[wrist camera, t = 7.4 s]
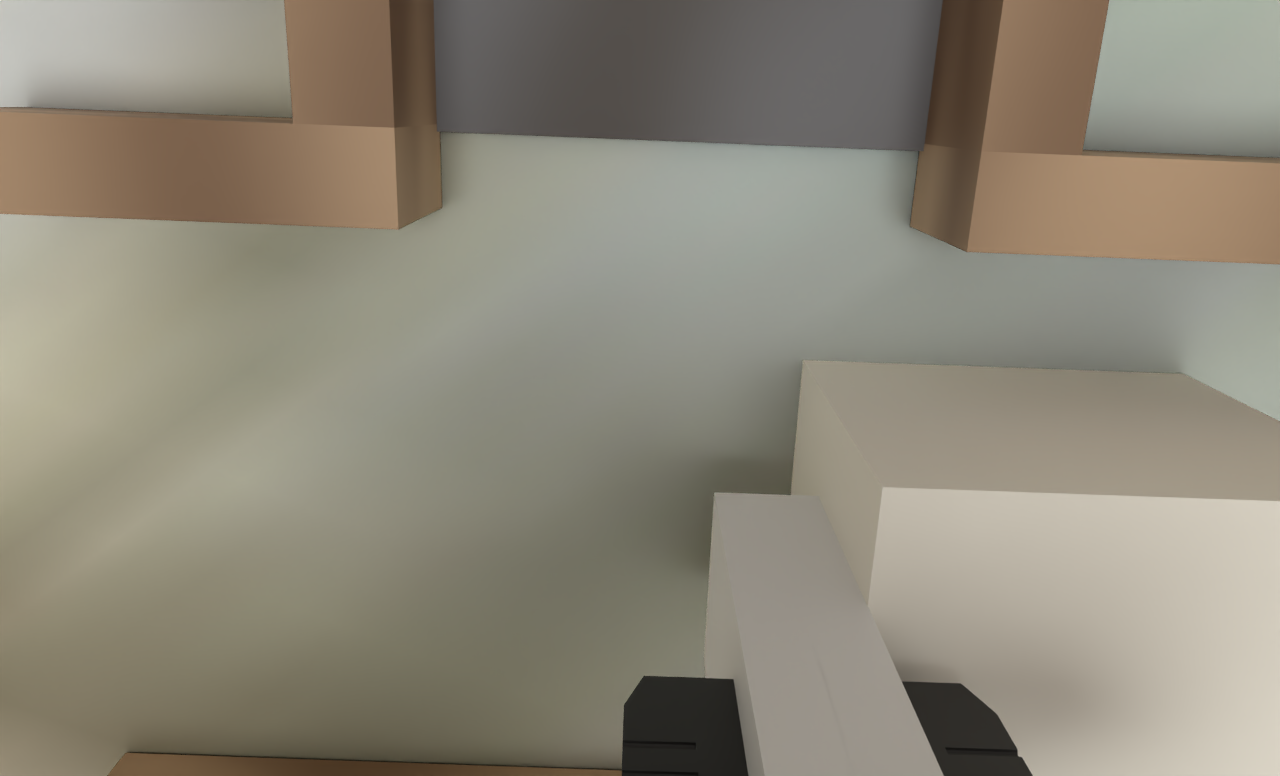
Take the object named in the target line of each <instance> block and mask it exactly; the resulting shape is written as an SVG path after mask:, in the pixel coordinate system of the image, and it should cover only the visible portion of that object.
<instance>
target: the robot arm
mask: <svg viewBox="0 0 1280 776" xmlns="http://www.w3.org/2000/svg"><path fill="white" fill-rule="evenodd" d="M704 668H705V678H688V677H658V676H644V677H643V678H642V680H641V681H640V683H639V684H638V685H637V687H636V688H635V690H634V691H633V693H632V694H631V696H630V697H629V699H628V700H627V702H626V703H625V705H624V724H623V752H622V776H1033V775H1032V774H1031V772H1030V770H1029V768H1028V767H1027V765H1026V763H1025V761H1024V760H1023V758H1022V757H1019V756H1018V749H1017V748H1016V746H1015V744H1014V742H1013V741H1012V739H1011V737H1010V736H1009V734H1008V732H1007V730H1006V729H1005V727H1004V725H1003V723H1002V722H1001V720H1000V718H999V717H998V715H997V714H996V713H995V712H994V711H993V710H992V709H991V708H989V707H988V706H987V705H986V704H985V703H984V702H982V701H981V700H980V699H979V698H978V697H976V696H975V695H974V694H973V693H972V692H971V691H969V690H968V689H967V688H966V687H965V686H964V685H962V684H961V683H936V682H906V681H901V679H900V677H899V674H898V672H897V670H896V668H895V665H894V663H893V661H892V659H891V656H890V654H889V652H888V650H887V647H886V645H885V643H884V641H883V638H882V636H881V634H880V632H879V630H878V627H877V625H876V623H875V621H874V618H873V616H872V614H871V612H870V609H869V607H868V606H867V604H866V602H865V600H864V597H863V595H862V593H861V591H860V588H859V586H858V584H857V582H856V579H855V577H854V575H853V573H852V570H851V568H850V566H849V564H848V561H847V559H846V557H845V555H844V552H843V550H842V548H841V546H840V544H839V541H838V539H837V537H836V535H835V532H834V530H833V528H832V526H831V523H830V521H829V519H828V517H827V514H826V512H825V510H824V508H823V505H822V503H821V501H820V499H819V496H808V495H778V494H749V493H720V492H714V504H713V519H712V535H711V550H710V566H709V582H708V597H707V613H706V628H705V644H704Z"/></svg>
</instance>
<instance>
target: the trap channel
mask: <svg viewBox="0 0 1280 776" xmlns="http://www.w3.org/2000/svg"><path fill="white" fill-rule="evenodd" d="M284 4H285V18H286V32H287V46H288V60H289V74H290V88H291V101H292V115H293V118H279V117H254V116H229V115H204V114H180V113H155V112H130V111H105V110H80V109H56V108H31V107H0V214H22V215H47V216H73V217H98V218H123V219H149V220H174V221H199V222H224V223H250V224H275V225H300V226H325V227H351V228H376V229H400V228H402V227H404V226H406V225H408V224H410V223H412V222H414V221H416V220H418V219H420V218H422V217H424V216H426V215H428V214H430V213H432V212H434V211H436V210H438V209H440V208H442V190H441V151H440V132H461V133H486V134H511V135H536V136H561V137H585V138H610V139H635V140H660V141H685V142H710V143H734V144H759V145H784V146H809V147H834V148H858V149H883V150H908V151H919V159H918V167H917V174H916V182H915V190H914V198H913V206H912V214H911V222H910V227H913V228H915V229H917V230H919V231H921V232H924V233H926V234H928V235H930V236H933V237H935V238H937V239H939V240H941V241H944V242H946V243H948V244H950V245H953V246H955V247H957V248H959V249H962V250H964V251H966V252H983V253H1008V254H1033V255H1059V256H1084V257H1109V258H1134V259H1160V260H1185V261H1210V262H1235V263H1261V264H1280V158H1269V157H1245V156H1220V155H1195V154H1170V153H1146V152H1121V151H1096V150H1083V145H1084V139H1085V133H1086V128H1087V122H1088V117H1089V111H1090V105H1091V100H1092V94H1093V89H1094V83H1095V77H1096V72H1097V66H1098V60H1099V55H1100V49H1101V44H1102V38H1103V32H1104V27H1105V21H1106V16H1107V10H1108V4H1109V0H284ZM107 776H622V771H621V770H593V769H565V768H537V767H508V766H480V765H452V764H424V763H396V762H368V761H339V760H311V759H283V758H255V757H227V756H199V755H170V754H142V753H125V754H124V756H123V757H122V758H121V759H120V761H119V762H118V763H117V764H116V765H115V767H114V768H113V769H112V770H111V772H110V773H109V774H108V775H107Z"/></svg>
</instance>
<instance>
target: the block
mask: <svg viewBox="0 0 1280 776" xmlns="http://www.w3.org/2000/svg"><path fill="white" fill-rule="evenodd" d="M790 495H808V496H819V499H820V501H821V503H822V505H823V508H824V510H825V512H826V514H827V517H828V519H829V521H830V523H831V526H832V528H833V530H834V532H835V535H836V537H837V539H838V541H839V544H840V546H841V548H842V550H843V552H844V555H845V557H846V559H847V561H848V564H849V566H850V568H851V570H852V573H853V575H854V577H855V579H856V582H857V584H858V586H859V588H860V591H861V593H862V595H863V597H864V600H865V602H866V604H867V606H868V607H869V609H870V612H871V614H872V616H873V618H874V621H875V623H876V625H877V627H878V630H879V632H880V634H881V636H882V638H883V641H884V643H885V645H886V647H887V650H888V652H889V654H890V656H891V659H892V661H893V663H894V665H895V668H896V670H897V672H898V674H899V677H900V679H901V681H906V682H936V683H961V684H962V685H964V686H965V687H966V688H967V689H968V690H969V691H971V692H972V693H973V694H974V695H975V696H976V697H978V698H979V699H980V700H981V701H982V702H984V703H985V704H986V705H987V706H988V707H989V708H991V709H992V710H993V711H994V712H995V713H996V714H997V715H998V717H999V718H1000V720H1001V722H1002V723H1003V725H1004V727H1005V729H1006V730H1007V732H1008V734H1009V736H1010V737H1011V739H1012V741H1013V742H1014V744H1015V746H1016V748H1017V749H1018V756H1019V757H1022V758H1023V760H1024V761H1025V763H1026V765H1027V767H1028V768H1029V770H1030V772H1031V774H1032V775H1033V776H1280V421H1278V420H1276V419H1274V418H1272V417H1270V416H1268V415H1266V414H1264V413H1262V412H1260V411H1258V410H1256V409H1254V408H1251V407H1249V406H1247V405H1245V404H1243V403H1241V402H1239V401H1237V400H1235V399H1233V398H1231V397H1229V396H1227V395H1225V394H1223V393H1221V392H1219V391H1217V390H1215V389H1213V388H1211V387H1209V386H1207V385H1205V384H1203V383H1201V382H1199V381H1197V380H1195V379H1193V378H1191V377H1189V376H1187V375H1185V374H1178V373H1150V372H1123V371H1095V370H1067V369H1039V368H1012V367H984V366H956V365H929V364H901V363H873V362H845V361H818V360H803V365H802V375H801V386H800V397H799V408H798V418H797V429H796V440H795V451H794V462H793V472H792V483H791V494H790Z"/></svg>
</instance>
